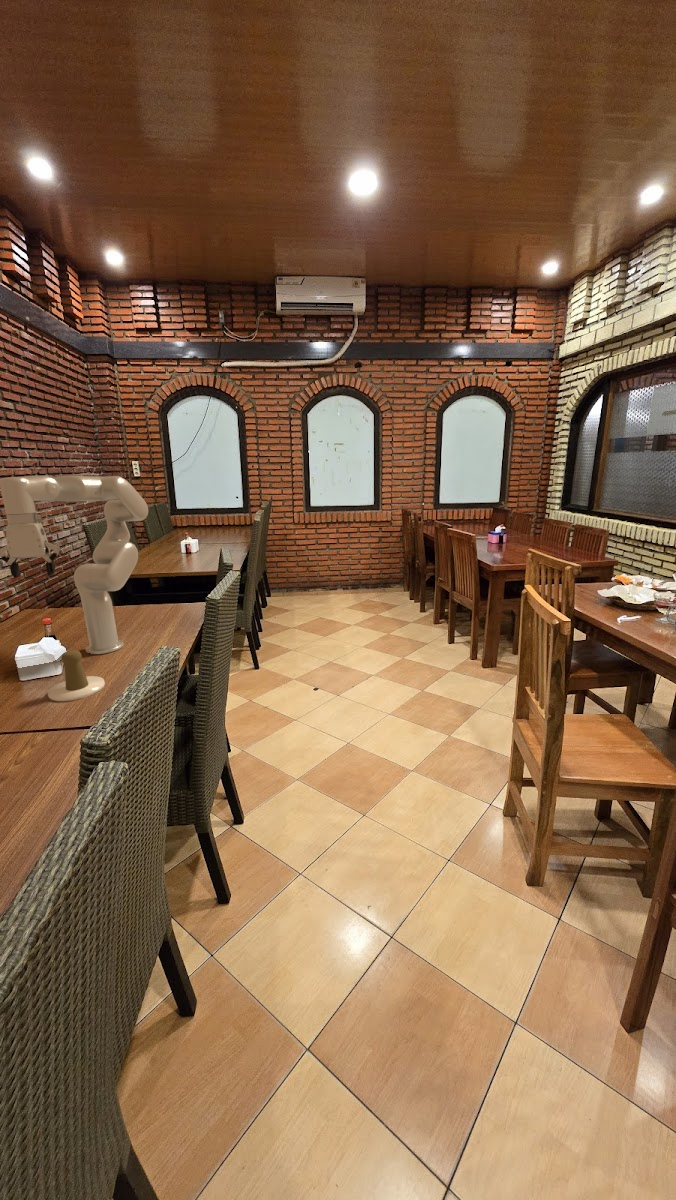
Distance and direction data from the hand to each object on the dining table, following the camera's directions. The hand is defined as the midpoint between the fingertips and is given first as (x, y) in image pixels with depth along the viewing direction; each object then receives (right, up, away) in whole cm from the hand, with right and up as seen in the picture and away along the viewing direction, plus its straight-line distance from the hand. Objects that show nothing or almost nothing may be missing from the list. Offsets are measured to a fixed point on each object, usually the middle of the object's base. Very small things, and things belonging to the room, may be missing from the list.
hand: (34, 575), depth 148 cm
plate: (+16, -34, -5) cm, 38 cm away
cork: (+16, -33, -5) cm, 37 cm away
